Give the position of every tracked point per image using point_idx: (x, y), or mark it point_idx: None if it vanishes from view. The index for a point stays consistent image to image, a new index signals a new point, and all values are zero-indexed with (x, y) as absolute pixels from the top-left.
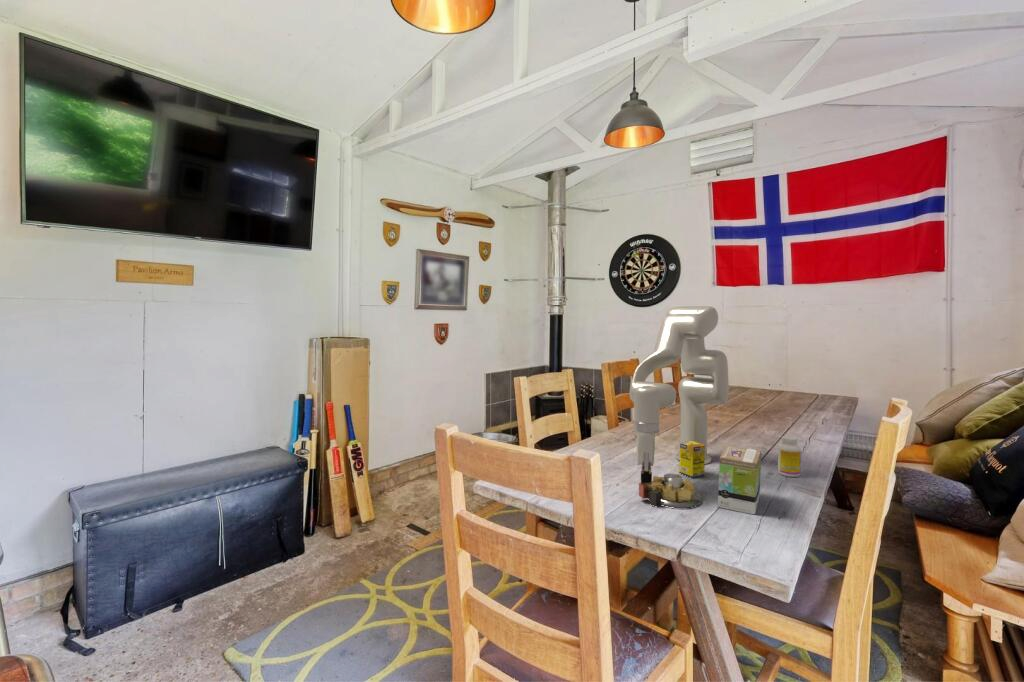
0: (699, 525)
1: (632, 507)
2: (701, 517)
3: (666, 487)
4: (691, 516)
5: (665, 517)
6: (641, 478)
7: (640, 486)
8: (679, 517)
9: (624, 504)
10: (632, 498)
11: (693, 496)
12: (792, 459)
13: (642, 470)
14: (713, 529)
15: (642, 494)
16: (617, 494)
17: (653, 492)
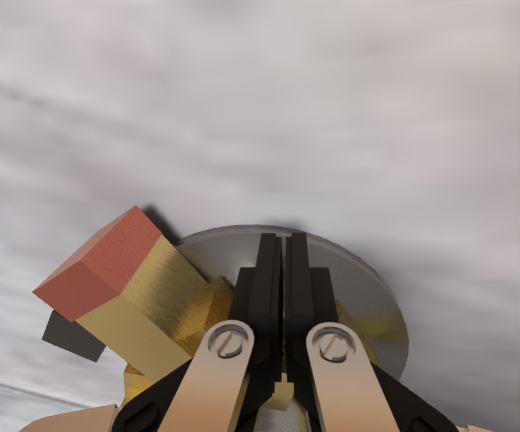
0: (33, 389)
1: (9, 162)
2: (104, 400)
3: (122, 405)
4: (92, 379)
5: (13, 307)
6: (255, 271)
7: (72, 260)
8: (53, 348)
9: (16, 105)
10: (153, 151)
11: None
12: None
13: (193, 367)
14: (34, 412)
15: (86, 242)
16: (177, 16)
17: (50, 327)
